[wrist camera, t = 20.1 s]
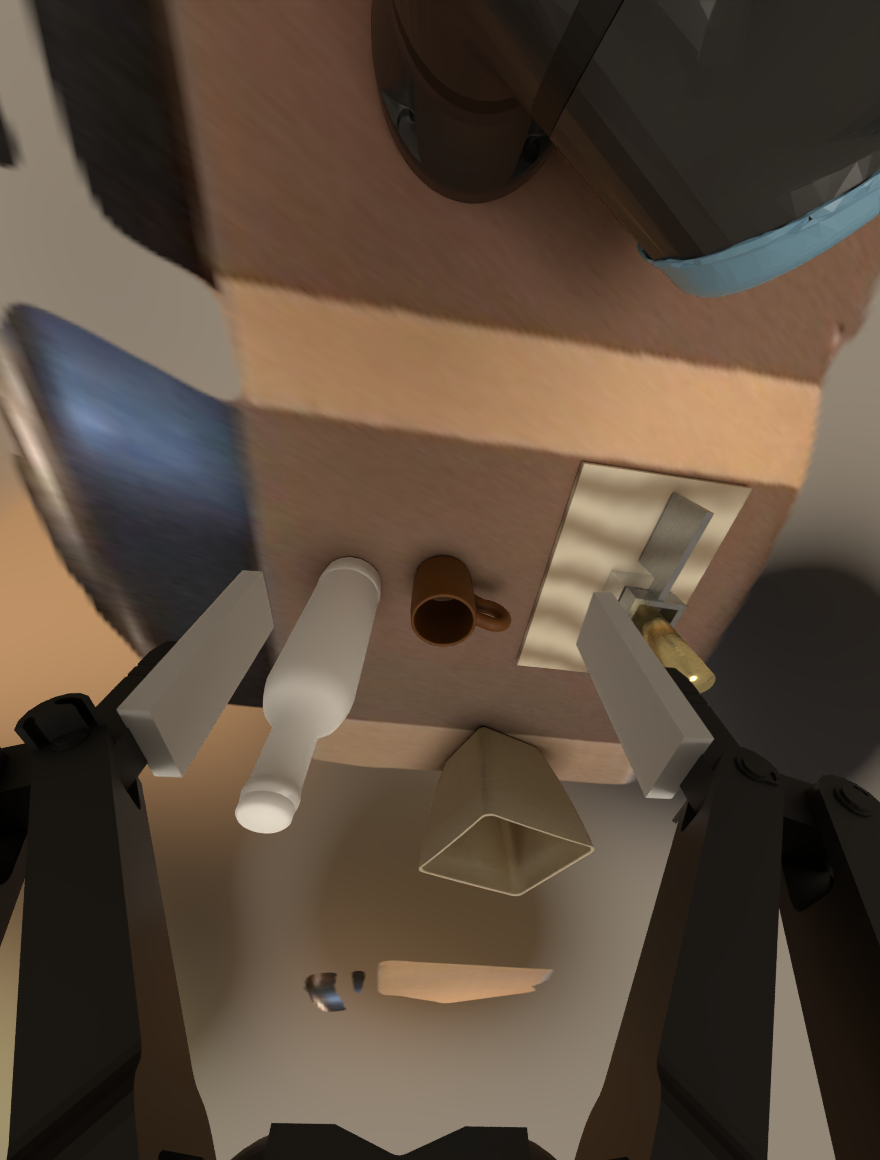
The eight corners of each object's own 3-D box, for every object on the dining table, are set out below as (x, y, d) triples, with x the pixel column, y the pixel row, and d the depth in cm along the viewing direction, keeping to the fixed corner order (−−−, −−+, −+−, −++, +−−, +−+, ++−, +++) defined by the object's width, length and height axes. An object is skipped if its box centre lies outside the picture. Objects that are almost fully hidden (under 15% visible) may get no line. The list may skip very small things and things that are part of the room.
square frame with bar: (651, 488, 43) (683, 508, 37) (701, 498, 43) (741, 519, 38) (594, 609, 51) (613, 640, 45) (637, 616, 52) (661, 647, 46)
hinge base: (640, 501, 44) (672, 524, 38) (690, 509, 44) (730, 532, 38) (569, 666, 57) (585, 703, 51) (608, 671, 57) (628, 707, 51)
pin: (619, 581, 49) (690, 669, 35) (642, 584, 49) (721, 672, 36) (609, 601, 51) (674, 692, 37) (632, 604, 51) (704, 696, 37)
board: (581, 461, 42) (584, 463, 41) (746, 486, 44) (752, 488, 43) (516, 660, 57) (517, 664, 56) (640, 673, 59) (643, 678, 58)
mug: (510, 564, 49) (524, 605, 41) (494, 611, 53) (505, 657, 45) (419, 549, 48) (415, 588, 40) (410, 598, 51) (404, 643, 43)
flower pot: (502, 795, 76) (517, 899, 61) (420, 767, 71) (415, 872, 56) (563, 743, 68) (598, 849, 53) (475, 707, 63) (486, 812, 48)
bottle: (346, 543, 47) (235, 768, 21) (394, 580, 50) (348, 818, 24) (310, 584, 50) (176, 823, 24) (358, 616, 53) (282, 862, 27)
